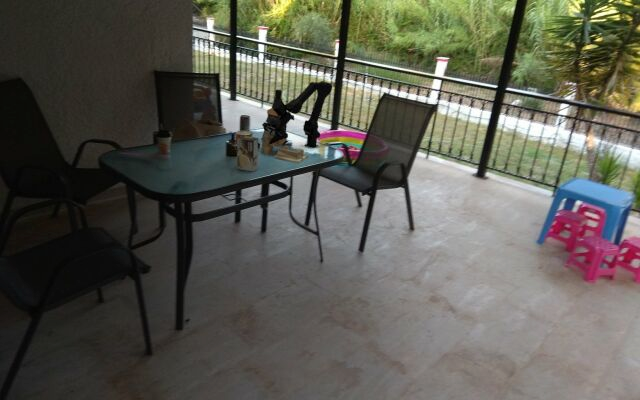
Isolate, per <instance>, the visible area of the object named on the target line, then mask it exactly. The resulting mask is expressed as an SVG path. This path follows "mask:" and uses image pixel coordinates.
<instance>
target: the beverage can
mask: <svg viewBox="0 0 640 400" xmlns="http://www.w3.org/2000/svg"><path fill="white" fill-rule="evenodd" d="M240 136H249V137H253V132H252V131H249V130H237V131H235V145H236V144H237V138H239V137H240Z"/></svg>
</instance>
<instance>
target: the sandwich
mask: <svg viewBox="0 0 640 400" xmlns="http://www.w3.org/2000/svg"><path fill="white" fill-rule="evenodd" d="M304 152H305V149H302V148H299V149H297V150H291V149H289V146H288V145H283V146H281V147H280V148H278V149H277V154H275V155H273V156H272V157H273V159H275V160H276V159H277V160H281V161H286V162H290V163H295V164H299V163H301V162H302V161H304V160H306V159H307V158H309V156H308V155H307V154H305V153H304Z"/></svg>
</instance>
